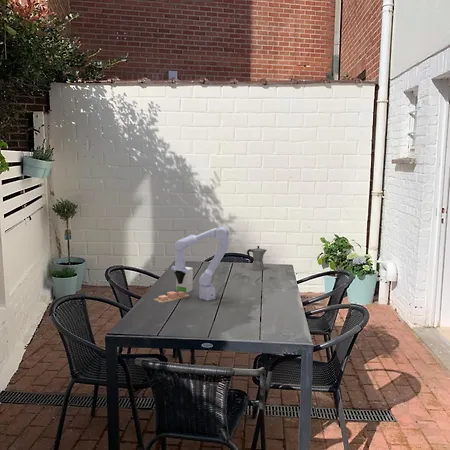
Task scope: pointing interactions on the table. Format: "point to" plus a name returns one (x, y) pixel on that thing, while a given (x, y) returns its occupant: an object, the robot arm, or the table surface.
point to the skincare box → (186, 282)
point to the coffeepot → (257, 258)
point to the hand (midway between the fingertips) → (180, 283)
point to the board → (171, 299)
